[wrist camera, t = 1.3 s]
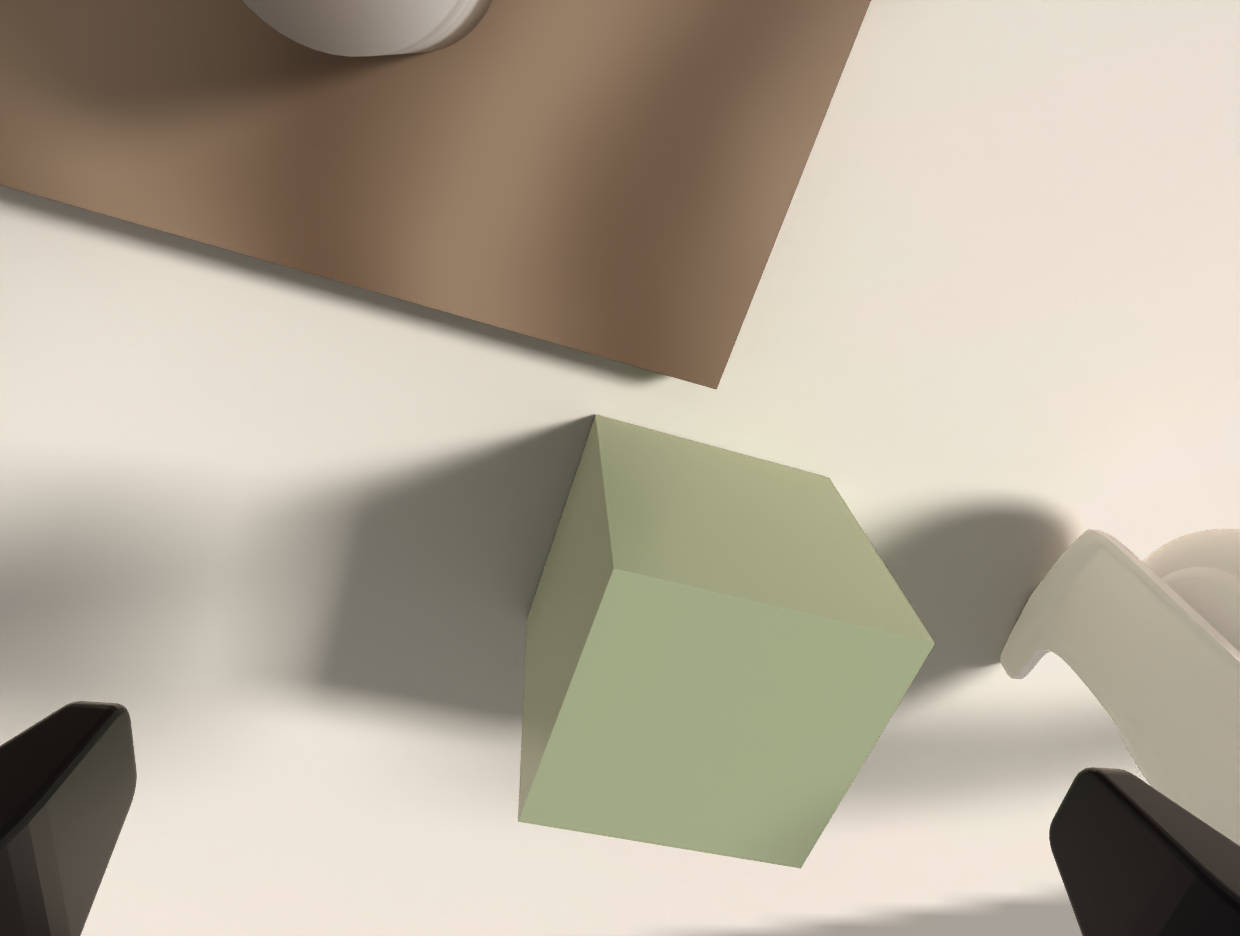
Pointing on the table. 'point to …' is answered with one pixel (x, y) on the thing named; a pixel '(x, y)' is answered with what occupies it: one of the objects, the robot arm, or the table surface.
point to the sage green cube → (706, 651)
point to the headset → (1152, 656)
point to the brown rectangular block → (447, 147)
